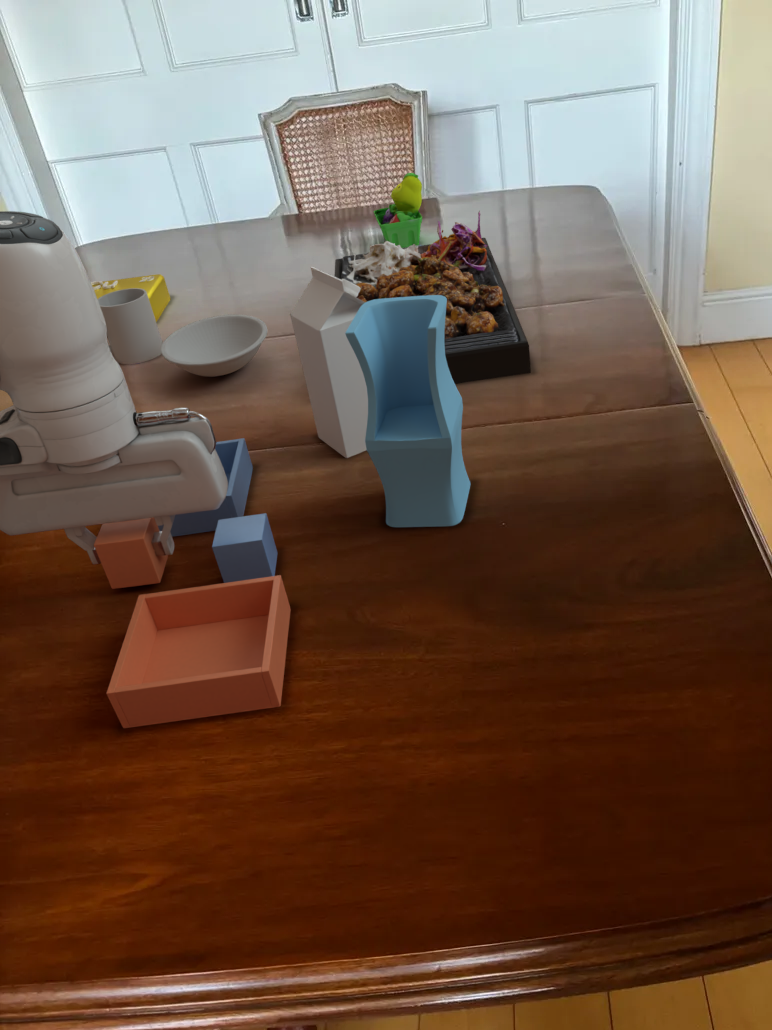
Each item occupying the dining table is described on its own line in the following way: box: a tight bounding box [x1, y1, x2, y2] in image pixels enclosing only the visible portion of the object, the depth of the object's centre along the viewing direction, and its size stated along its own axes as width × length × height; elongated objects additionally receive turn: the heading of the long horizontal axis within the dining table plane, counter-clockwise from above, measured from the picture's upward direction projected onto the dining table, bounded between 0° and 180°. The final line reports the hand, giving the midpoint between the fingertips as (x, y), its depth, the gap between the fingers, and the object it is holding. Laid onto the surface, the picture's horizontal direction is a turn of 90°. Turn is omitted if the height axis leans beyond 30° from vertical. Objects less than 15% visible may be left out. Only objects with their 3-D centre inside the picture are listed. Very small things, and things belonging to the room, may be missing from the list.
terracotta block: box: [94, 518, 169, 590], centre depth 82 cm, size 4×4×5 cm
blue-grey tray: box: [158, 437, 254, 538], centre depth 94 cm, size 12×12×4 cm
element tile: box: [91, 273, 171, 323], centre depth 145 cm, size 15×15×5 cm
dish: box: [161, 313, 268, 378], centre depth 122 cm, size 18×14×5 cm
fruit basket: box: [373, 172, 423, 248], centre depth 159 cm, size 11×9×11 cm
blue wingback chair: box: [345, 295, 471, 528], centre depth 83 cm, size 8×8×20 cm
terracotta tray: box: [106, 574, 292, 729], centre depth 72 cm, size 12×12×4 cm
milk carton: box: [289, 266, 368, 459], centre depth 97 cm, size 7×7×19 cm
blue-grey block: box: [211, 512, 278, 583], centre depth 82 cm, size 4×4×5 cm
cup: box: [98, 288, 164, 365], centre depth 129 cm, size 7×10×9 cm
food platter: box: [333, 210, 532, 385], centre depth 126 cm, size 45×25×10 cm, turn 5°
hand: (134, 556), depth 83 cm, fingers closed on terracotta block, 4 cm apart
